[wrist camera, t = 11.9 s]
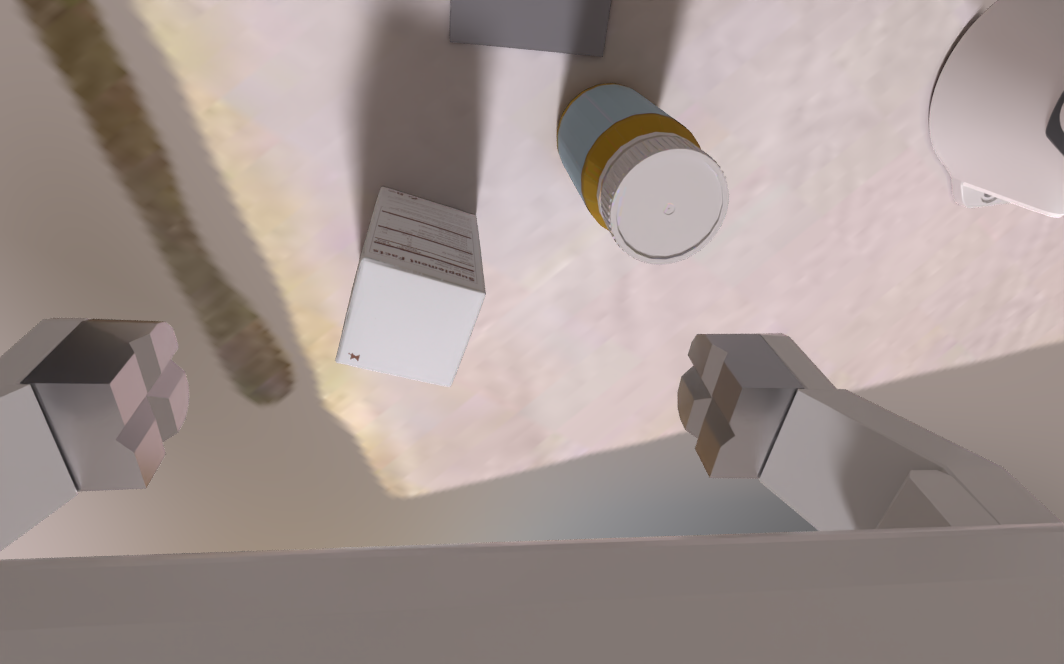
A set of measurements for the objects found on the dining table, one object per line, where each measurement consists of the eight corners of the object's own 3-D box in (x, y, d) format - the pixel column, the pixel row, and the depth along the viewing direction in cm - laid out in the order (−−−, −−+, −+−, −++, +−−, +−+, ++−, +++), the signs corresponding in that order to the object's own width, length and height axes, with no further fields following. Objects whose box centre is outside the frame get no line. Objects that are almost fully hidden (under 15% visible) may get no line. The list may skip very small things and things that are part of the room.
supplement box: (450, 295, 47) (450, 393, 37) (357, 269, 45) (329, 365, 35) (480, 213, 44) (490, 294, 33) (381, 180, 42) (358, 257, 31)
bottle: (615, 58, 39) (693, 106, 27) (669, 138, 43) (761, 214, 30) (535, 128, 41) (573, 204, 29) (592, 200, 44) (649, 296, 32)
